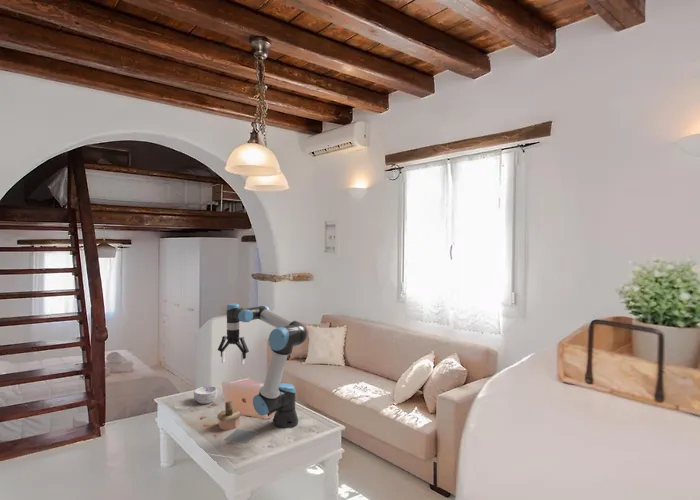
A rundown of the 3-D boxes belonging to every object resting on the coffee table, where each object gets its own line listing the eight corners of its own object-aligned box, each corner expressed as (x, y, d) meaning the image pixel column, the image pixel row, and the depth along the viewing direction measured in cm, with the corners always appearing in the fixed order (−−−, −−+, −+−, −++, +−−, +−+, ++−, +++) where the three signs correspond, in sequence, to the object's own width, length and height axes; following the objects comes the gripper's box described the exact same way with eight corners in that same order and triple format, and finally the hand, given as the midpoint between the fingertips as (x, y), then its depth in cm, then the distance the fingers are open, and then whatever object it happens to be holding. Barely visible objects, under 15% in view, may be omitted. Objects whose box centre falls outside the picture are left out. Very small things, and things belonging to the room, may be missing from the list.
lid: (244, 413, 256) (244, 399, 256) (232, 422, 243) (232, 408, 243) (225, 410, 259) (225, 397, 259) (212, 419, 247) (212, 405, 247)
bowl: (242, 423, 255) (242, 413, 255) (232, 431, 245) (232, 421, 245) (225, 421, 258) (225, 411, 258) (215, 429, 248) (215, 418, 248)
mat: (259, 433, 243) (259, 432, 243) (246, 444, 229) (246, 443, 229) (237, 430, 247) (237, 428, 247) (223, 441, 233) (223, 439, 233)
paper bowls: (190, 405, 283) (190, 393, 283) (199, 396, 298) (199, 385, 298) (213, 405, 282) (213, 393, 282) (220, 397, 297) (220, 386, 297)
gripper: (254, 328, 266) (254, 362, 267) (218, 326, 273) (218, 359, 273) (248, 331, 259) (248, 366, 259) (211, 328, 266) (212, 362, 266)
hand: (233, 363), depth 266 cm, fingers open, 13 cm apart
